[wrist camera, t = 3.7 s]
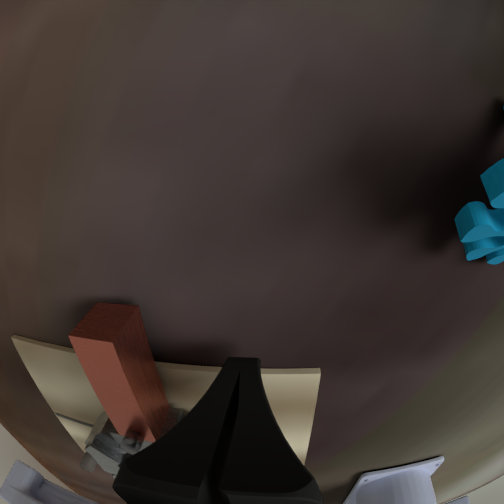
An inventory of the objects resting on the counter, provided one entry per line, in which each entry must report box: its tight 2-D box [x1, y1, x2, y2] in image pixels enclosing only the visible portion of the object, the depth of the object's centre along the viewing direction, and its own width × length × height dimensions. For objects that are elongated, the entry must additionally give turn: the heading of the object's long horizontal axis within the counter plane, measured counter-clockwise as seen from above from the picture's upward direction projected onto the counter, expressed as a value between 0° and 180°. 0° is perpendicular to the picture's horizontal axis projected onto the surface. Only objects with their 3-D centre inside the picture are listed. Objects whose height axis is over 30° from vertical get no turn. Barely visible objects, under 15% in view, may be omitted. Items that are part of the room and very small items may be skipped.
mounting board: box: [11, 335, 321, 472], centre depth 16 cm, size 16×20×3 cm
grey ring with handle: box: [68, 302, 184, 478], centre depth 14 cm, size 17×10×4 cm, turn 2°
